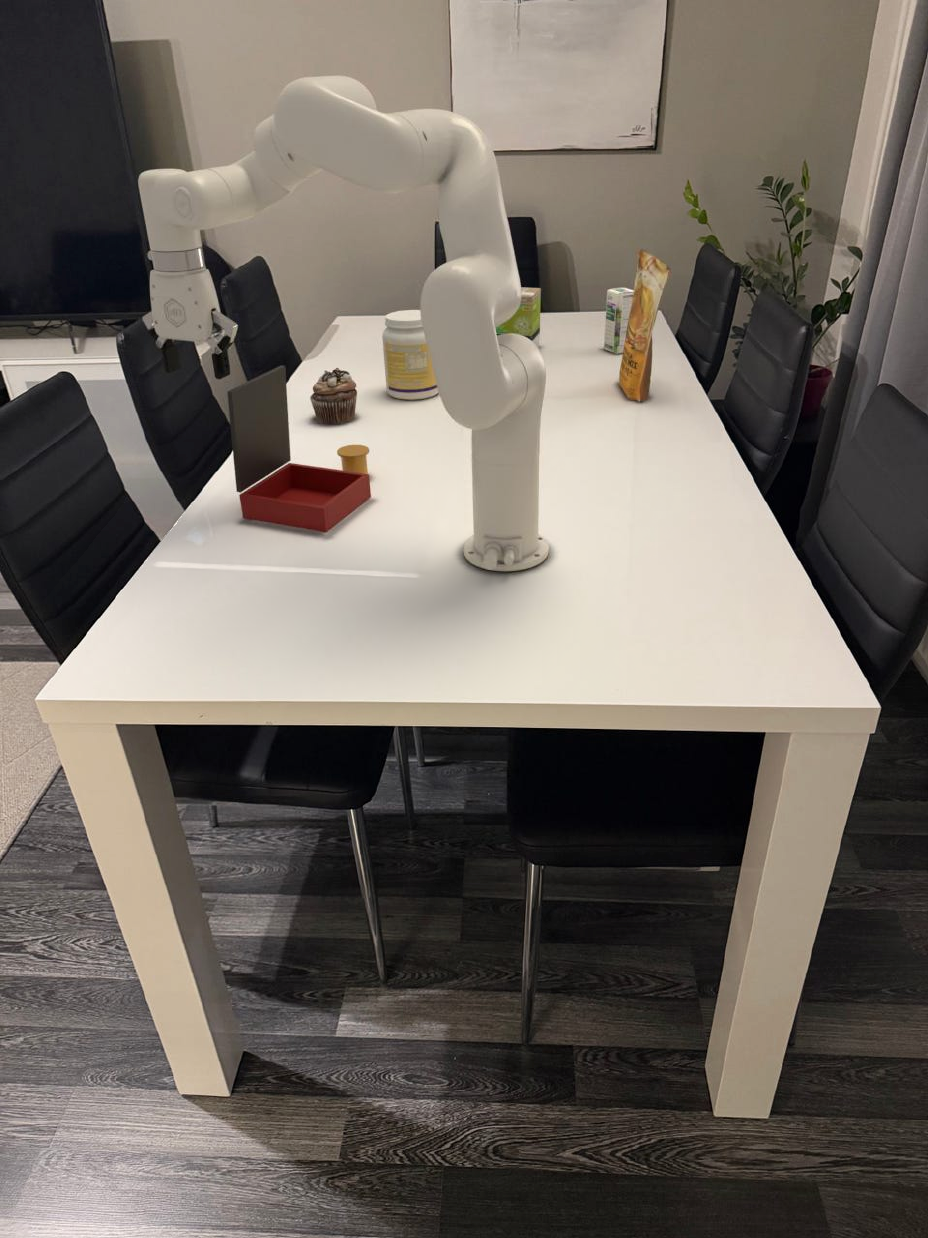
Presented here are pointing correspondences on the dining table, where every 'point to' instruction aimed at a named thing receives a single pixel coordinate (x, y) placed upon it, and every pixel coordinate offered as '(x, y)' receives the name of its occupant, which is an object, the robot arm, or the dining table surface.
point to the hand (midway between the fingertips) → (198, 373)
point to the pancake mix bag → (642, 325)
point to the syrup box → (617, 318)
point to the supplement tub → (407, 357)
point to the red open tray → (306, 497)
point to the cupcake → (334, 398)
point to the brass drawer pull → (354, 458)
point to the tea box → (525, 317)
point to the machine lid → (259, 427)
